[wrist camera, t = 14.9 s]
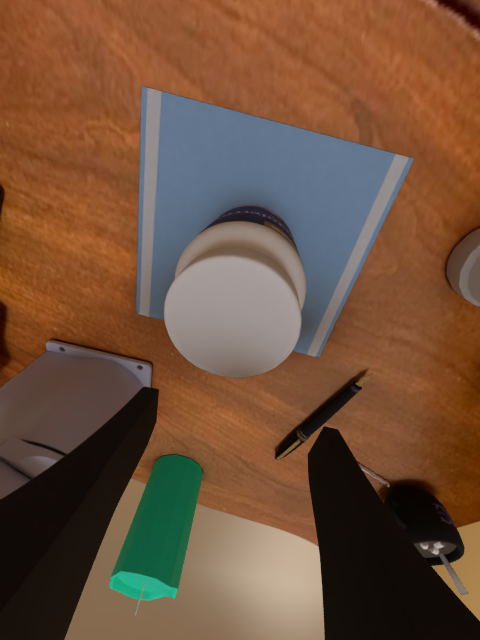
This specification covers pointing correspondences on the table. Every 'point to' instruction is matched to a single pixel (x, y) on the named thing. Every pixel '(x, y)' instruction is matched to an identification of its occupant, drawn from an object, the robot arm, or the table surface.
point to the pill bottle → (238, 294)
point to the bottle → (466, 268)
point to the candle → (159, 531)
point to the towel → (259, 197)
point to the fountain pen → (319, 419)
